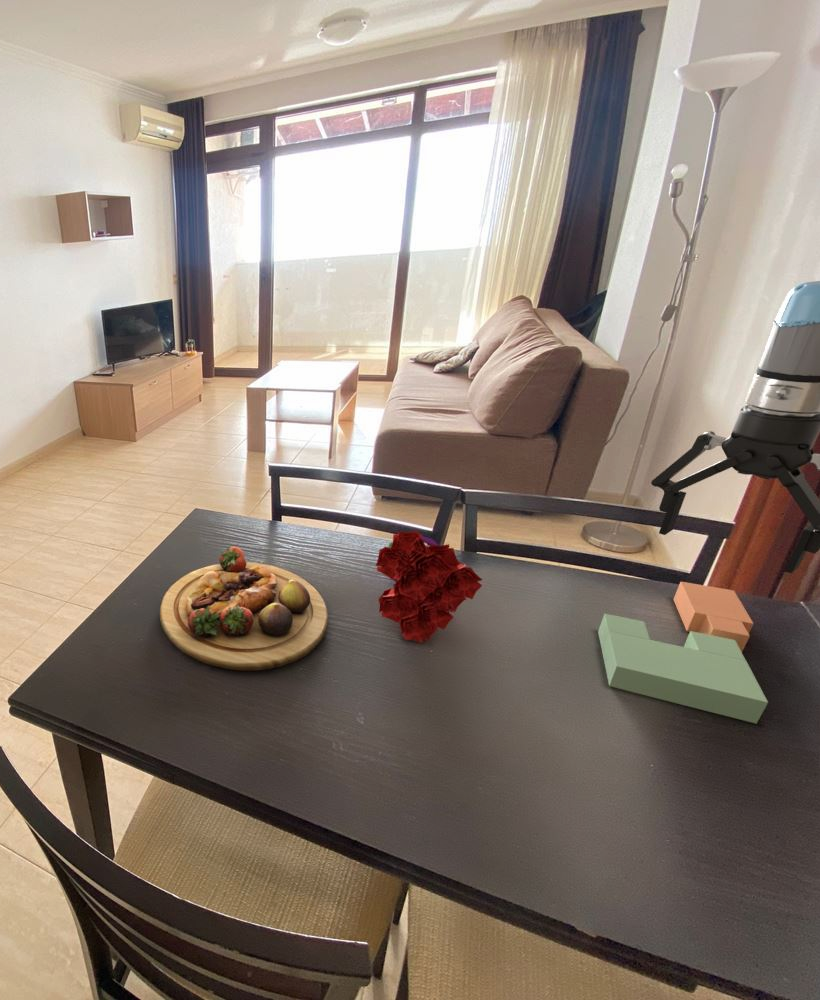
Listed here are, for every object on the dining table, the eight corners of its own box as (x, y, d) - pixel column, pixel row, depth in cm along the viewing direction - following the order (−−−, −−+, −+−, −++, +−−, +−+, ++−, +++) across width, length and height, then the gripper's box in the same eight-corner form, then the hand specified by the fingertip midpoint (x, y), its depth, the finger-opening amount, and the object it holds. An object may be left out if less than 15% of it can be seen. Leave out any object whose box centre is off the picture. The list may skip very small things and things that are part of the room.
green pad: (725, 660, 85) (735, 640, 83) (756, 723, 74) (768, 702, 72) (597, 632, 92) (604, 613, 91) (609, 686, 82) (616, 666, 80)
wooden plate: (180, 564, 123) (178, 533, 119) (326, 576, 114) (329, 542, 110) (140, 661, 95) (135, 623, 92) (328, 686, 86) (331, 646, 83)
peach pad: (725, 609, 95) (734, 590, 93) (752, 658, 84) (762, 638, 83) (673, 599, 99) (680, 581, 97) (692, 645, 88) (701, 626, 86)
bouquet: (434, 584, 119) (477, 651, 90) (355, 579, 123) (372, 641, 94) (443, 498, 114) (490, 539, 86) (361, 495, 118) (380, 534, 90)
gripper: (651, 397, 78) (611, 525, 87) (936, 438, 58) (845, 598, 67) (674, 387, 82) (633, 512, 90) (952, 423, 62) (863, 578, 71)
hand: (723, 549), depth 79 cm, fingers open, 13 cm apart
